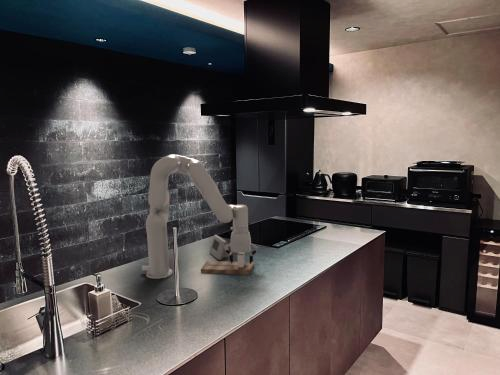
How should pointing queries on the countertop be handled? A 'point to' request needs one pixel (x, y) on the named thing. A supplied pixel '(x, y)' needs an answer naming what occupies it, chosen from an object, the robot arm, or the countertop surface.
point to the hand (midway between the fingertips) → (241, 262)
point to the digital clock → (218, 248)
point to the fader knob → (241, 259)
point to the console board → (226, 267)
